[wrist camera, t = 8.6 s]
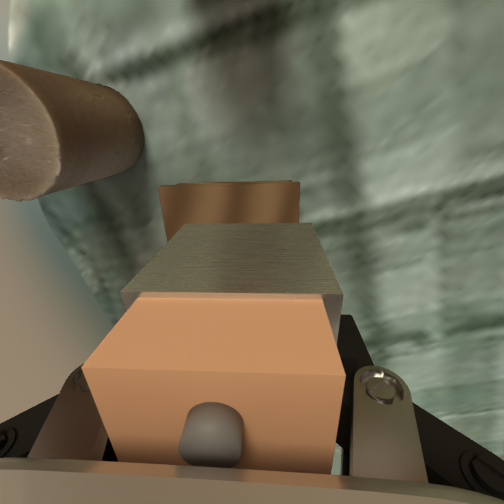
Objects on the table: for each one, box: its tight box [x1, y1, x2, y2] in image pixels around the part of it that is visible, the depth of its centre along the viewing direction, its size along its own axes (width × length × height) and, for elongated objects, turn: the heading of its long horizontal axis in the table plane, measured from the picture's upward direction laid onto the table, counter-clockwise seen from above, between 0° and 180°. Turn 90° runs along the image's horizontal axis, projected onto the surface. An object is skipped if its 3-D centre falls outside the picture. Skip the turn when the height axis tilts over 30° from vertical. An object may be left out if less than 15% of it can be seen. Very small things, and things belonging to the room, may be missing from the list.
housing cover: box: [81, 298, 346, 475], centre depth 6 cm, size 4×7×2 cm, turn 2°
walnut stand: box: [158, 180, 300, 242], centre depth 33 cm, size 15×15×5 cm
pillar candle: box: [0, 60, 143, 202], centre depth 24 cm, size 10×10×15 cm
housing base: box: [120, 223, 343, 345], centre depth 10 cm, size 5×7×5 cm
